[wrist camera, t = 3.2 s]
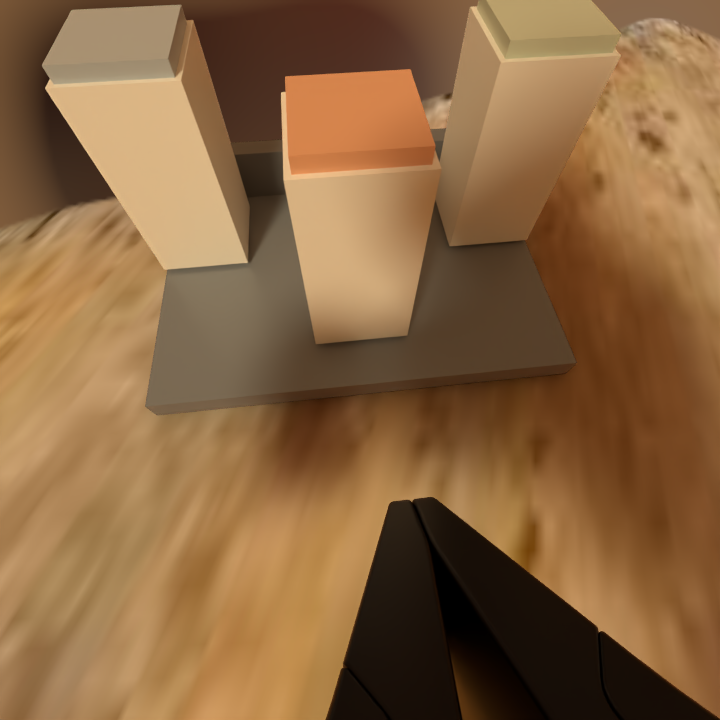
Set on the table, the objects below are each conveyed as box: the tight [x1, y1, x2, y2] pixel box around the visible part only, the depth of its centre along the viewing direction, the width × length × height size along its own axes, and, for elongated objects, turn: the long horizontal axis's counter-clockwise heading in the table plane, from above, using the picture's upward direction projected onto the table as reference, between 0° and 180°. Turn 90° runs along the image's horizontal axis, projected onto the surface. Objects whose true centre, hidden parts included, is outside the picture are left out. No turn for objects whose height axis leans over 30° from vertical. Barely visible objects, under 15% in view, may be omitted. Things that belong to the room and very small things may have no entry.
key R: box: [281, 69, 441, 344], centre depth 14 cm, size 4×4×8 cm
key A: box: [42, 5, 250, 270], centre depth 16 cm, size 4×4×8 cm
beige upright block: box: [435, 0, 622, 246], centre depth 17 cm, size 4×4×8 cm
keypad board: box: [145, 128, 577, 415], centre depth 18 cm, size 13×18×4 cm
